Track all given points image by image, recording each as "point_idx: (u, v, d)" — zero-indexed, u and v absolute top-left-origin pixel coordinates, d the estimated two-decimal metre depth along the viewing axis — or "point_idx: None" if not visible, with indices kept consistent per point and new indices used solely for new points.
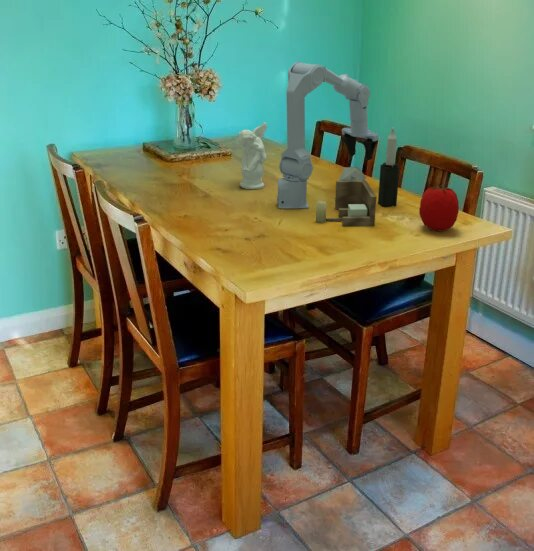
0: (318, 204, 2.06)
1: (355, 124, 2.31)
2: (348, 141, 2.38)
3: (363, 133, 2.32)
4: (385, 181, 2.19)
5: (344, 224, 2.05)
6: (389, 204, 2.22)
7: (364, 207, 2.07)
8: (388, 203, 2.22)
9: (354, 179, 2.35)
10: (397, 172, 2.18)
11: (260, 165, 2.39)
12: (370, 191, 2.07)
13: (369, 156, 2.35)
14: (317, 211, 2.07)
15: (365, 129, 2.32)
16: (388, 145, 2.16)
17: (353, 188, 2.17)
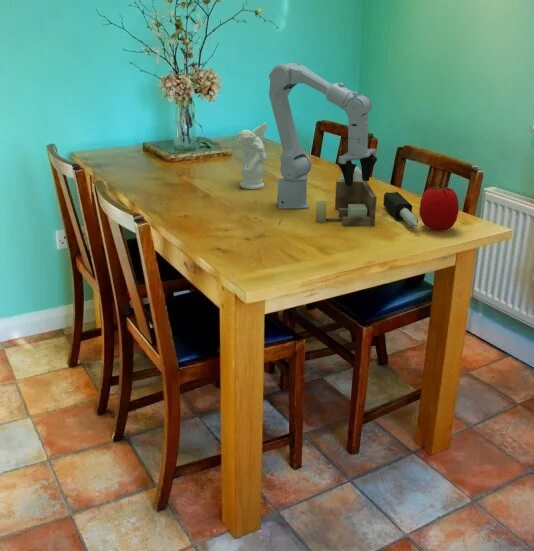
0: (318, 204, 2.06)
1: None
2: (361, 161, 2.10)
3: (348, 153, 2.04)
4: None
5: (344, 224, 2.05)
6: None
7: (364, 207, 2.07)
8: None
9: (354, 179, 2.35)
10: None
11: (260, 165, 2.39)
12: (370, 191, 2.07)
13: (346, 181, 2.06)
14: (317, 211, 2.07)
15: (351, 150, 2.03)
16: (406, 221, 2.03)
17: (353, 188, 2.17)
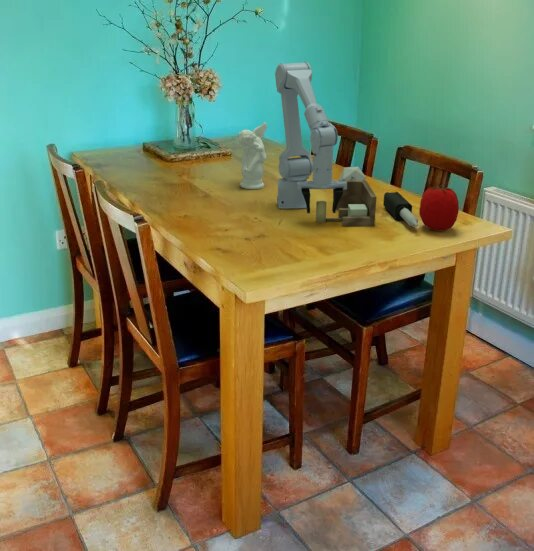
0: (318, 204, 2.06)
1: None
2: (333, 192, 2.08)
3: (312, 181, 2.05)
4: None
5: (344, 224, 2.05)
6: None
7: (364, 207, 2.07)
8: None
9: (354, 179, 2.35)
10: None
11: (260, 165, 2.39)
12: (370, 191, 2.07)
13: None
14: (317, 211, 2.07)
15: None
16: (406, 221, 2.03)
17: (353, 188, 2.17)
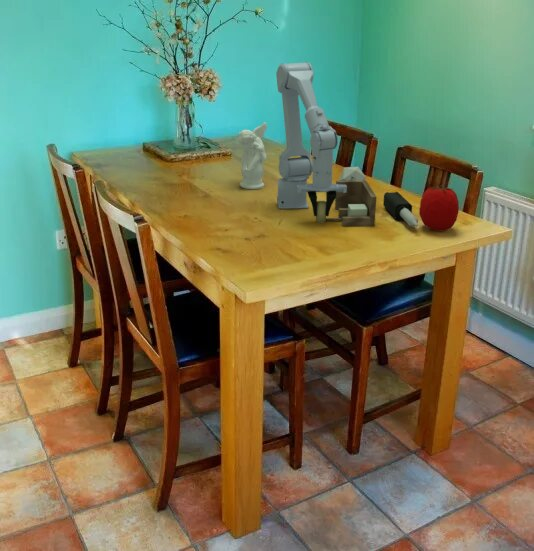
0: (318, 204, 2.06)
1: None
2: (326, 195, 2.08)
3: None
4: None
5: (344, 224, 2.05)
6: None
7: (364, 207, 2.07)
8: None
9: (354, 179, 2.35)
10: None
11: (260, 165, 2.39)
12: (370, 191, 2.07)
13: (313, 210, 2.08)
14: (317, 211, 2.07)
15: None
16: (406, 221, 2.03)
17: (353, 188, 2.17)
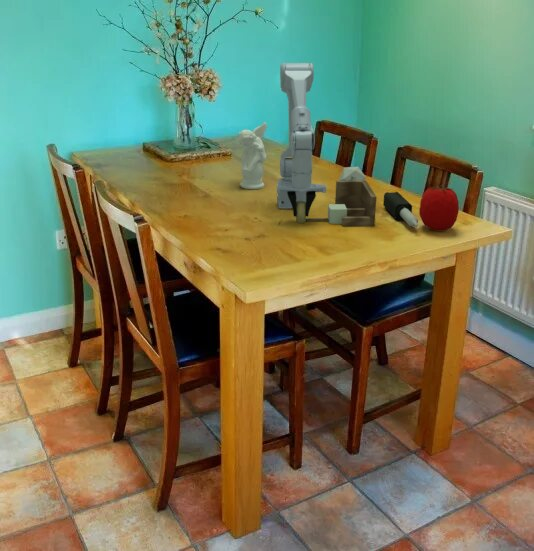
0: (298, 204, 2.06)
1: None
2: (306, 195, 2.08)
3: (292, 184, 2.05)
4: None
5: (344, 224, 2.05)
6: None
7: (344, 207, 2.07)
8: None
9: (354, 179, 2.35)
10: None
11: (260, 165, 2.39)
12: (370, 191, 2.07)
13: None
14: (297, 211, 2.07)
15: (292, 181, 2.04)
16: (406, 221, 2.03)
17: (353, 188, 2.17)
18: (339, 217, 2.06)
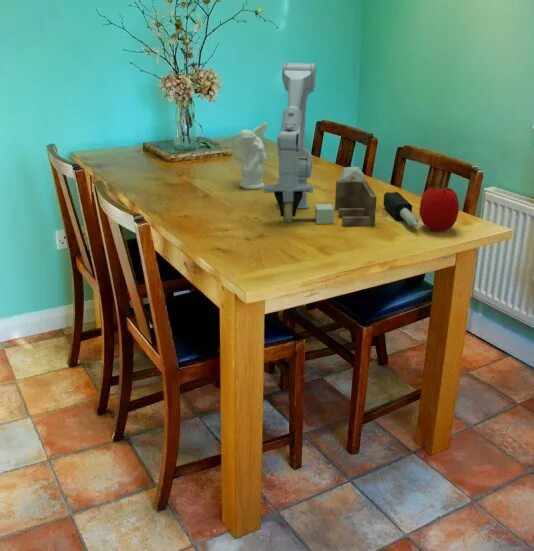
0: (285, 204, 2.06)
1: None
2: (293, 195, 2.07)
3: (279, 184, 2.05)
4: None
5: (344, 224, 2.05)
6: None
7: (331, 207, 2.07)
8: None
9: (354, 179, 2.35)
10: None
11: (260, 165, 2.39)
12: (370, 191, 2.07)
13: (280, 211, 2.08)
14: (284, 211, 2.07)
15: (278, 181, 2.04)
16: (406, 221, 2.03)
17: (353, 188, 2.17)
18: (326, 217, 2.06)
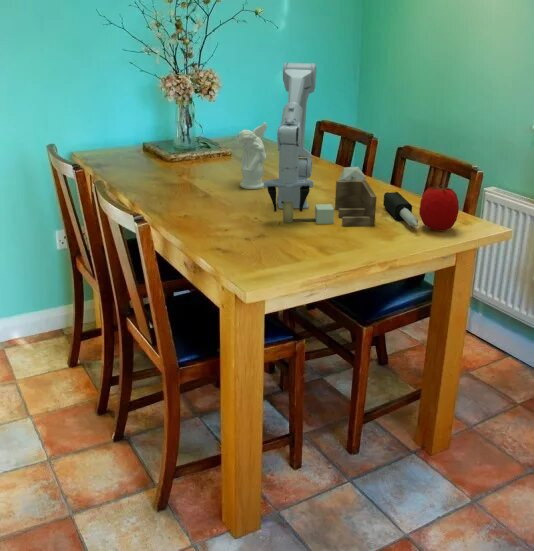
0: (285, 204, 2.06)
1: None
2: (300, 190, 2.07)
3: (279, 179, 2.05)
4: None
5: (344, 224, 2.05)
6: None
7: (331, 207, 2.07)
8: None
9: (354, 179, 2.35)
10: None
11: (260, 165, 2.39)
12: (370, 191, 2.07)
13: None
14: (284, 211, 2.07)
15: None
16: (406, 221, 2.03)
17: (353, 188, 2.17)
18: (326, 217, 2.06)
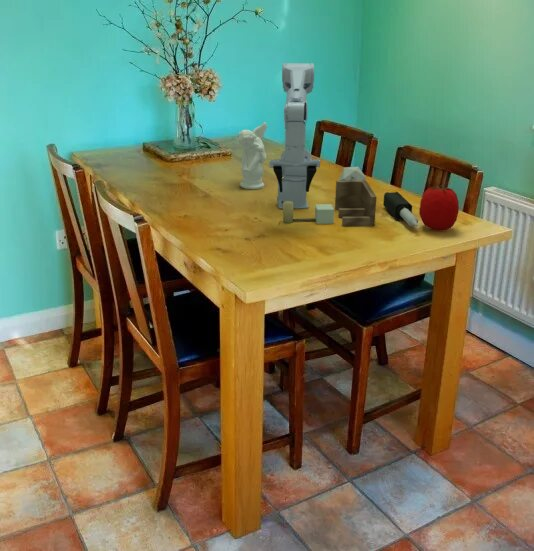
0: (285, 204, 2.06)
1: None
2: None
3: (285, 158, 1.99)
4: None
5: (344, 224, 2.05)
6: None
7: (331, 207, 2.07)
8: None
9: (354, 179, 2.35)
10: None
11: (260, 165, 2.39)
12: (370, 191, 2.07)
13: (279, 186, 2.02)
14: (284, 211, 2.07)
15: (285, 155, 1.98)
16: (406, 221, 2.03)
17: (353, 188, 2.17)
18: (326, 217, 2.06)
